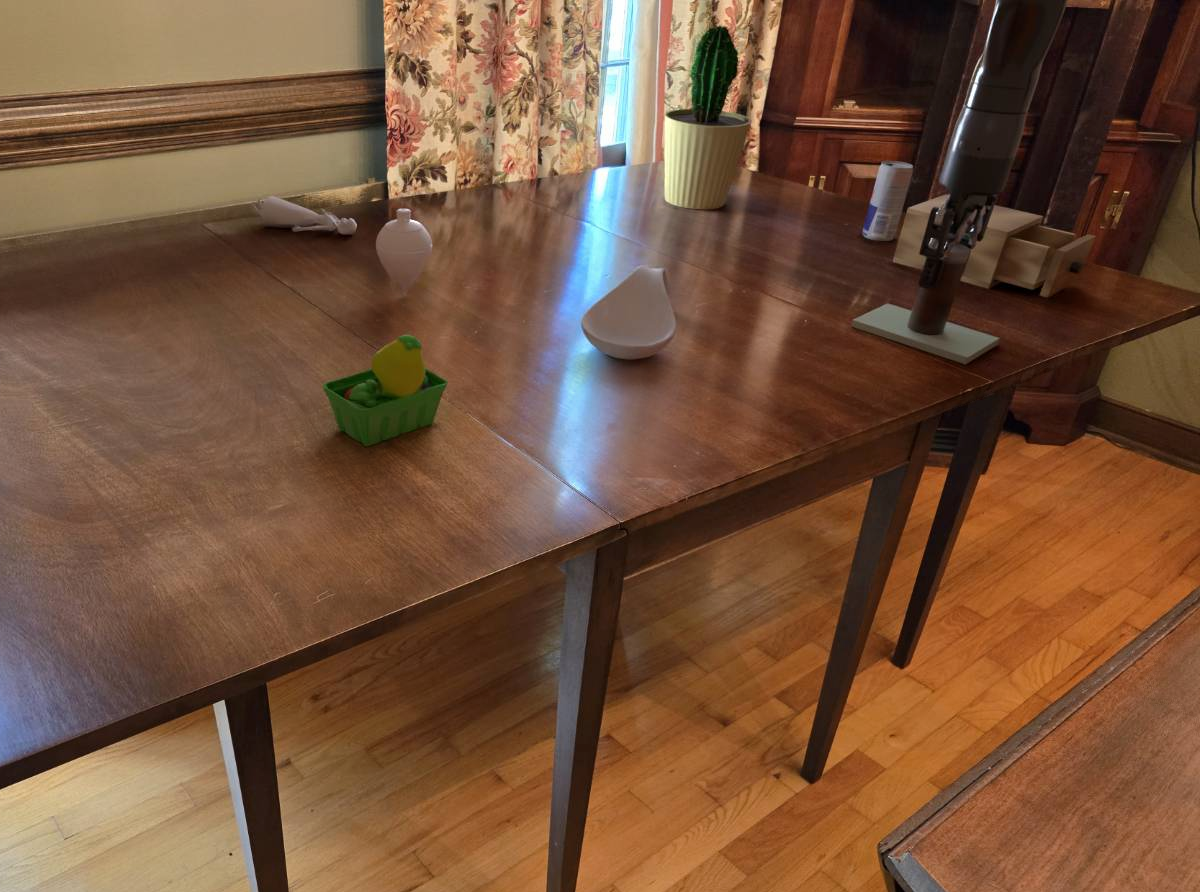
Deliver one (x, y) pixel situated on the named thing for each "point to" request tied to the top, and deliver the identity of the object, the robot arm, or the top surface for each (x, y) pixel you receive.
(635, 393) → the top surface
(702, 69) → the potted cactus
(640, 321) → the spoon rest
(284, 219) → the woman figurine
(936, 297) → the glass of dark soda
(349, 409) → the fruit basket
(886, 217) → the energy drink
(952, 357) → the mat
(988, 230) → the cabinet
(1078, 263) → the drawer
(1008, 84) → the robot arm
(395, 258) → the spinning top
